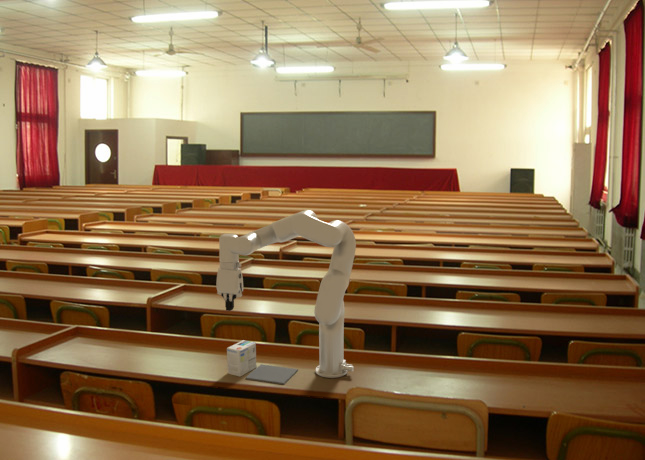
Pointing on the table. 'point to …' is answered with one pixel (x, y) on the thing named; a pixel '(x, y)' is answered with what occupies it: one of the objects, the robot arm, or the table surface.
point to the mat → (272, 374)
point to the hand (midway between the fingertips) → (229, 309)
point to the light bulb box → (241, 358)
